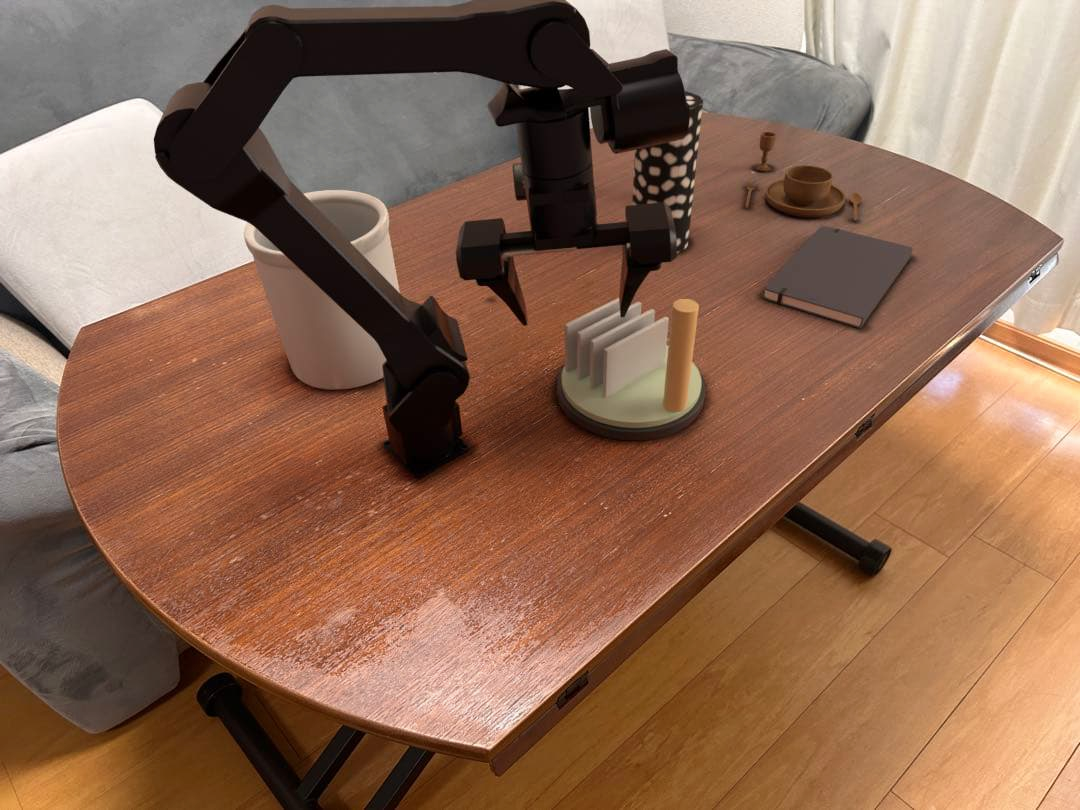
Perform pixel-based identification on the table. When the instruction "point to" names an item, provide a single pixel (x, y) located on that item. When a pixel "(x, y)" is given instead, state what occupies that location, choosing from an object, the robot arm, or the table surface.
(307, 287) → the utensil holder
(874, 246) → the notebook
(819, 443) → the table surface
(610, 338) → the dish rack
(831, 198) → the place setting
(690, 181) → the white-spotted black cylinder
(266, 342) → the table surface
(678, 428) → the turntable base
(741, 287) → the table surface
